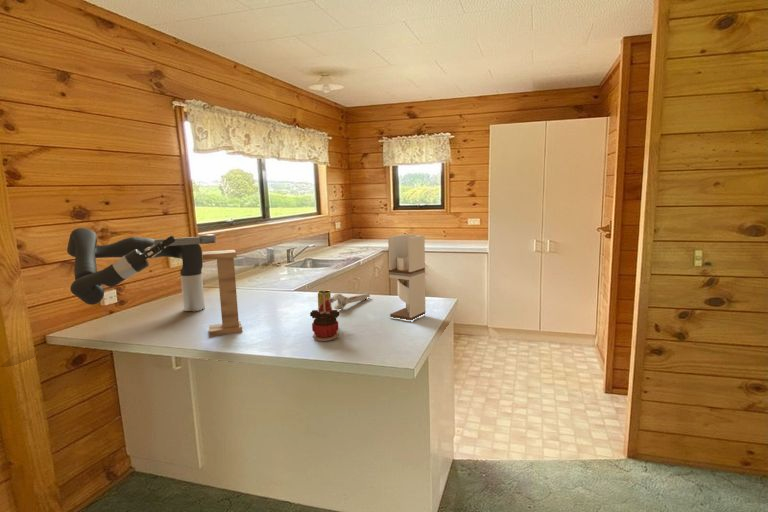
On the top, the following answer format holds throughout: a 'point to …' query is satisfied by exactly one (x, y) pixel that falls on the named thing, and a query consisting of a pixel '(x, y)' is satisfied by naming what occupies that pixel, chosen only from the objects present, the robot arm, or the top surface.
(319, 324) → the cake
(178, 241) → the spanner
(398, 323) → the top surface
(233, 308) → the shelf stand
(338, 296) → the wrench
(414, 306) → the beige cubby tower
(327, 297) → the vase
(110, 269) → the robot arm
